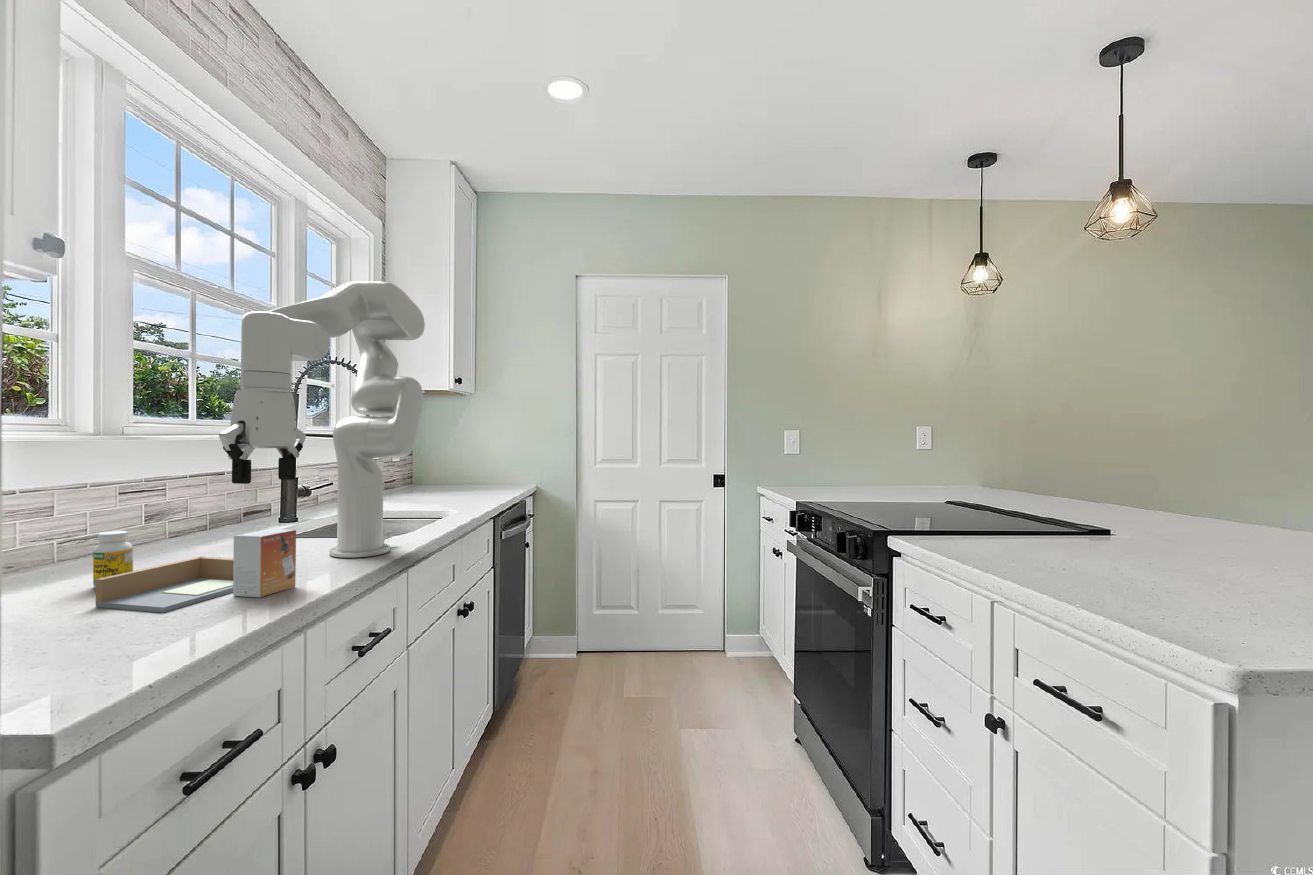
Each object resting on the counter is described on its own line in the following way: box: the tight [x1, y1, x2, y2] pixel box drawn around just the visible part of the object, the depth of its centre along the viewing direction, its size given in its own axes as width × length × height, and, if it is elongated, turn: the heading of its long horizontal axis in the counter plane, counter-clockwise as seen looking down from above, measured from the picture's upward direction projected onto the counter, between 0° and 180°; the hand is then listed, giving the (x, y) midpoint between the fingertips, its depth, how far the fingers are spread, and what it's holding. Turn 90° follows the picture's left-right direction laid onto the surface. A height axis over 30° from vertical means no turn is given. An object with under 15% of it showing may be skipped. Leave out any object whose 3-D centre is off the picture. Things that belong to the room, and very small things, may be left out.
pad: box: [162, 579, 233, 596], centre depth 105 cm, size 9×7×1 cm
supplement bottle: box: [92, 530, 134, 589], centre depth 109 cm, size 5×5×10 cm
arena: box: [95, 556, 234, 613], centre depth 104 cm, size 18×13×4 cm
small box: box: [232, 528, 297, 599], centre depth 106 cm, size 8×6×10 cm
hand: (265, 481), depth 106 cm, fingers open, 9 cm apart
